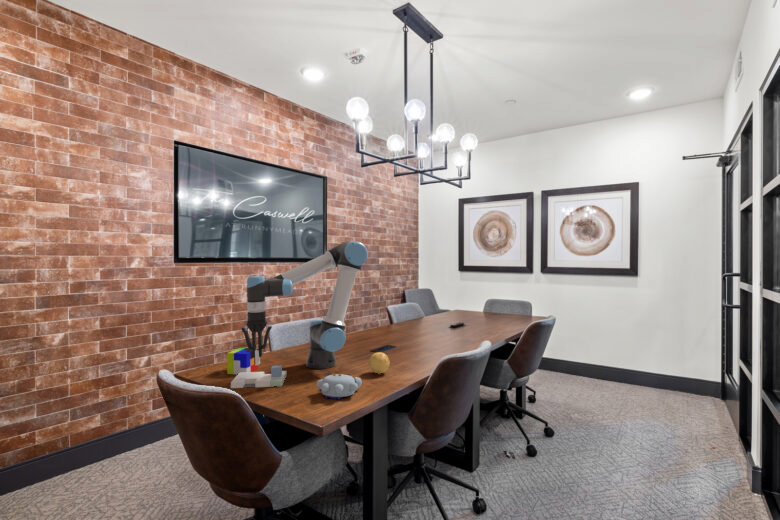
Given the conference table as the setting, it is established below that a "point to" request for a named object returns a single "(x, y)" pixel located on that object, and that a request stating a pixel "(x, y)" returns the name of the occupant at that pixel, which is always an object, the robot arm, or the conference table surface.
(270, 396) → the conference table surface
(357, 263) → the robot arm
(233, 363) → the puzzle toy
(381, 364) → the stress ball
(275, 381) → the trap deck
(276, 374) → the block
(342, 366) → the conference table surface
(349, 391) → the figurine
